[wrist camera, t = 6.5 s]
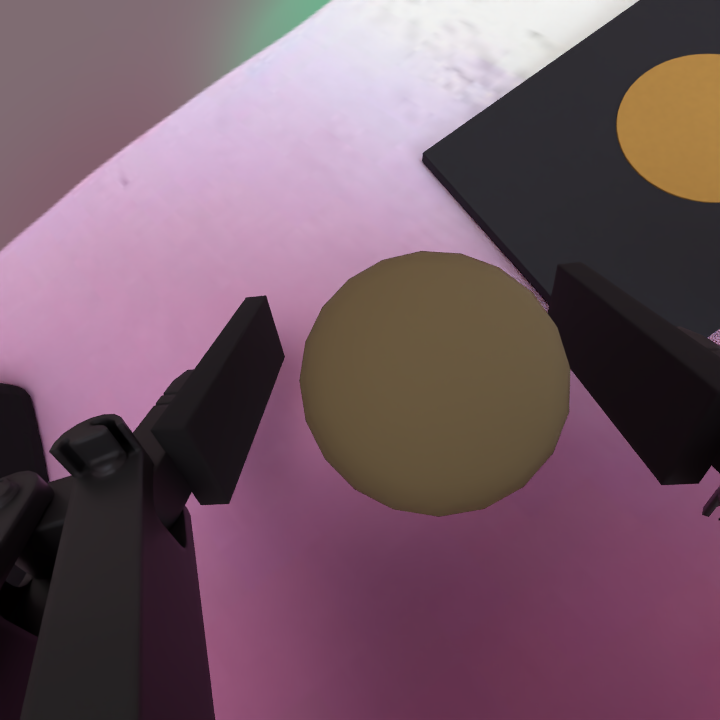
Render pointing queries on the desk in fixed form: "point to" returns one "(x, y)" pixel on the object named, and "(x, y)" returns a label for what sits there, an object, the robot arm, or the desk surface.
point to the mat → (608, 162)
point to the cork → (435, 383)
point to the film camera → (19, 444)
